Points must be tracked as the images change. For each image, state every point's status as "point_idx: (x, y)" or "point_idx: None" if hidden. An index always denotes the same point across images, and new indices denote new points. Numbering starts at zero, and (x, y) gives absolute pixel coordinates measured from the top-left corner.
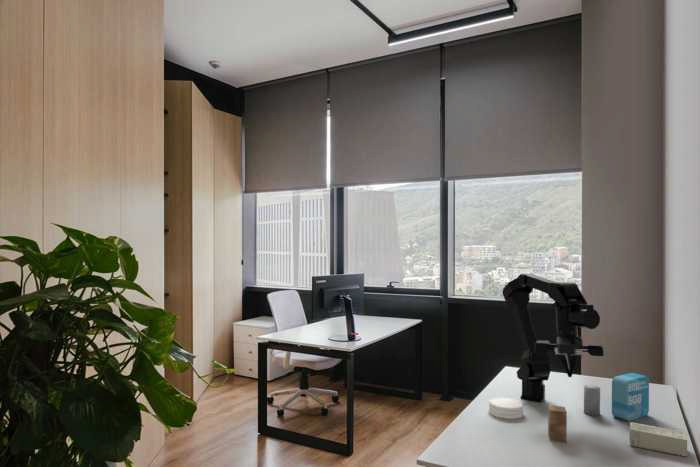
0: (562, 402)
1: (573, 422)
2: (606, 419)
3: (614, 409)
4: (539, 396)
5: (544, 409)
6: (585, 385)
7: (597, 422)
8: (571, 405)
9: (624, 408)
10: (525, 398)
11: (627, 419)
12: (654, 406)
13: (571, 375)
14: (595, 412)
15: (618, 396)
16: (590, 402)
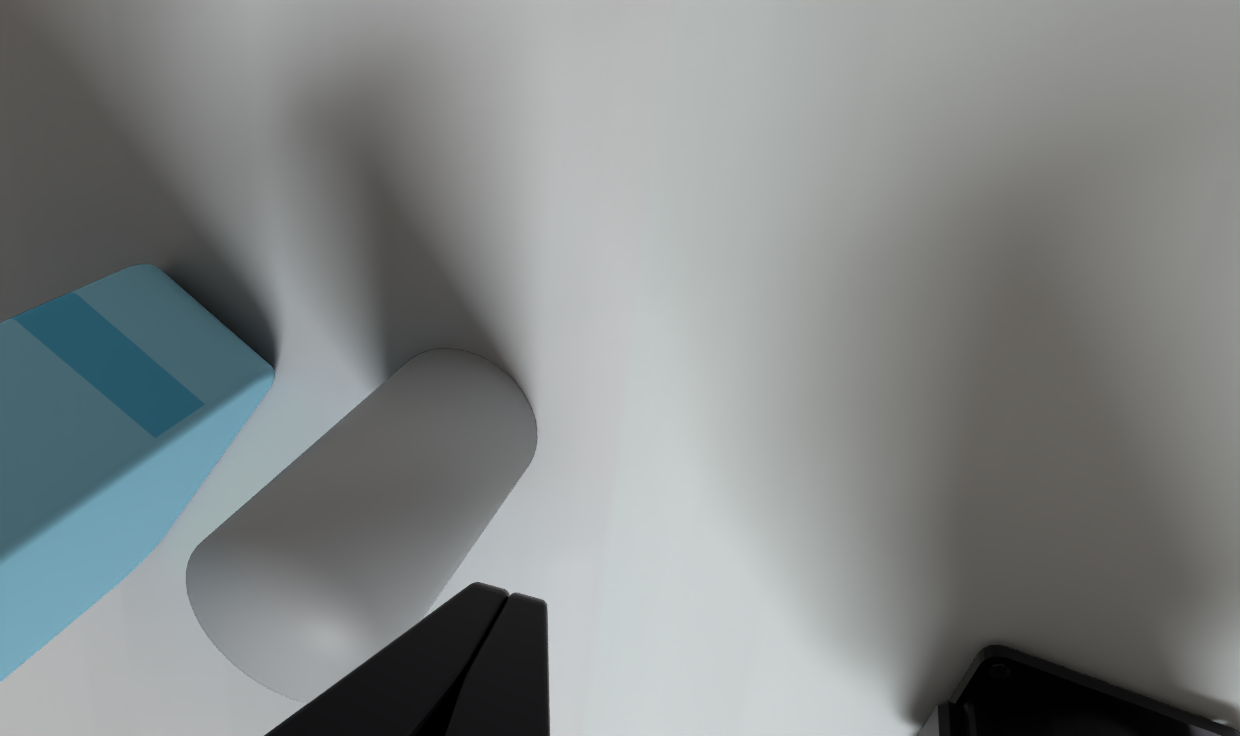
0: (722, 666)
1: (696, 34)
2: (334, 275)
3: (206, 373)
4: (995, 729)
5: (1002, 428)
6: None
7: (418, 145)
8: (641, 599)
9: (72, 311)
10: (1187, 717)
11: (143, 265)
12: (47, 652)
13: (450, 602)
14: (413, 368)
15: (24, 422)
16: (407, 431)
